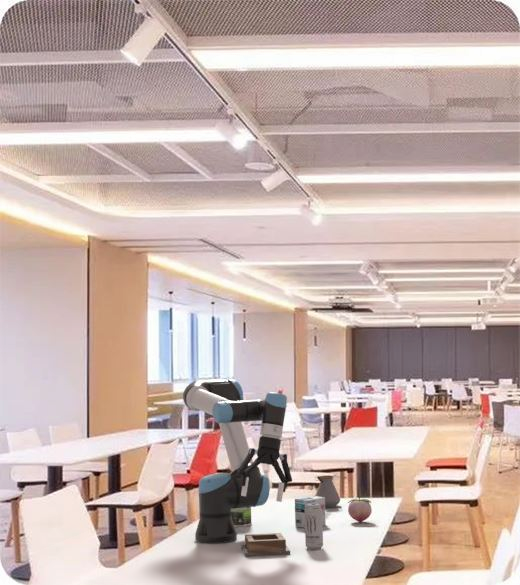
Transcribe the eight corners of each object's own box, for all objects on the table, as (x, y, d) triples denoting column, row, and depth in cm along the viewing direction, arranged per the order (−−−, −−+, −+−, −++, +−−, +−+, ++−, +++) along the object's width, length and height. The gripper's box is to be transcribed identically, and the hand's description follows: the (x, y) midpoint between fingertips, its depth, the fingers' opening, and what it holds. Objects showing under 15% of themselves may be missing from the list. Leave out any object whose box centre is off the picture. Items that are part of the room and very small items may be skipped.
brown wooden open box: (241, 547, 345) (240, 534, 345) (283, 545, 347) (283, 532, 347) (245, 556, 330) (245, 542, 330) (290, 554, 332) (289, 540, 332)
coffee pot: (317, 504, 436) (316, 469, 436) (343, 504, 432) (342, 469, 433) (305, 512, 415) (303, 476, 416) (331, 512, 412) (330, 476, 413)
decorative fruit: (372, 520, 392) (371, 494, 392) (372, 524, 384) (371, 497, 384) (348, 520, 393) (347, 495, 393) (348, 524, 384) (347, 498, 385)
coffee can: (257, 523, 391) (256, 487, 392) (240, 528, 383) (239, 491, 384) (236, 521, 398) (235, 486, 398) (220, 525, 389) (219, 489, 390)
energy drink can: (303, 549, 339) (302, 505, 339) (308, 546, 344) (307, 502, 345) (320, 550, 336) (318, 506, 337) (325, 547, 342) (323, 503, 343)
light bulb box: (306, 528, 378) (305, 500, 378) (294, 526, 383) (293, 498, 383) (326, 524, 385) (325, 496, 385) (314, 522, 390) (313, 495, 390)
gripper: (242, 431, 337) (232, 494, 333) (307, 443, 346) (298, 504, 342) (233, 431, 344) (224, 493, 339) (297, 442, 353) (288, 502, 349)
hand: (261, 499), depth 341 cm, fingers open, 13 cm apart
